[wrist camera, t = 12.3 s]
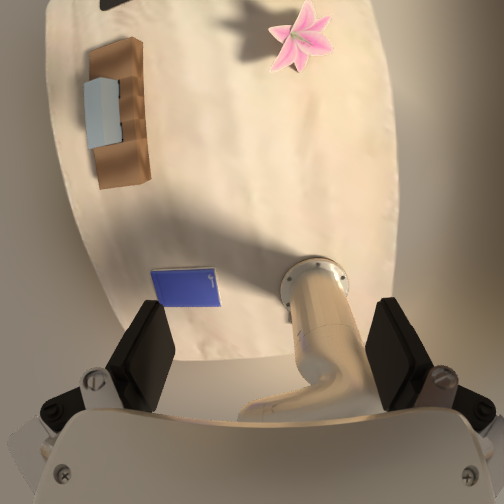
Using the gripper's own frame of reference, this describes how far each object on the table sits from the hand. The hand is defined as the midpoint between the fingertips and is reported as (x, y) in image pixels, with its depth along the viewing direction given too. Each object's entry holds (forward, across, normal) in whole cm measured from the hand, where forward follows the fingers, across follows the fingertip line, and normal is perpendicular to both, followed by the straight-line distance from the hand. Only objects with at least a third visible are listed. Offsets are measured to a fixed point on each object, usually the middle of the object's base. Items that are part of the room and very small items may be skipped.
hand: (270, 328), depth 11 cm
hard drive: (+34, +16, +20) cm, 42 cm away
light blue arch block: (+33, +23, -13) cm, 43 cm away
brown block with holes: (+33, +23, -13) cm, 43 cm away
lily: (+34, -5, -21) cm, 40 cm away
